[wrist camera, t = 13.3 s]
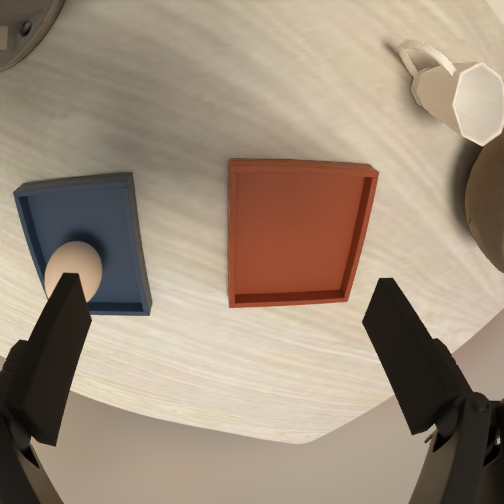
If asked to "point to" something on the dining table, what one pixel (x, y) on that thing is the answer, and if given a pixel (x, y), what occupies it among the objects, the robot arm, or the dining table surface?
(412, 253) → the dining table surface
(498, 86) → the cup
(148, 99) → the dining table surface
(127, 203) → the blue tray
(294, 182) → the terracotta tray
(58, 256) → the egg
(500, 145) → the bowl
